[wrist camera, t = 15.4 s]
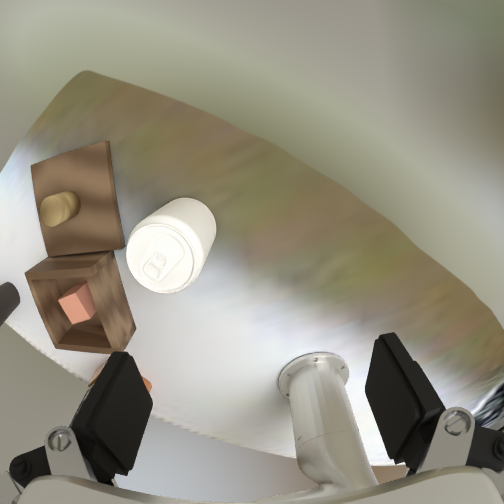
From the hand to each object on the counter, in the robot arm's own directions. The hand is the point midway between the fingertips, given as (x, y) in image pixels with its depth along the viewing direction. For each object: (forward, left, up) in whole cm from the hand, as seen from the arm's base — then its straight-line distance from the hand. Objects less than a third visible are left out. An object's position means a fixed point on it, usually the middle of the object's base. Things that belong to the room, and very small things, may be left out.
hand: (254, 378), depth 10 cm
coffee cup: (-10, +51, -28) cm, 59 cm away
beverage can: (-1, +9, -28) cm, 30 cm away
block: (-10, +28, -27) cm, 40 cm away
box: (-10, +28, -28) cm, 41 cm away
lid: (+5, +26, -28) cm, 38 cm away
